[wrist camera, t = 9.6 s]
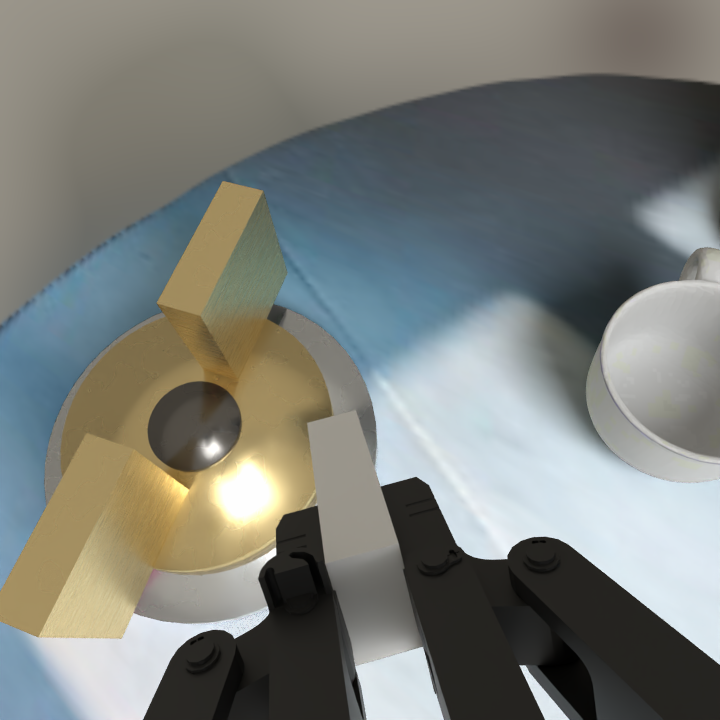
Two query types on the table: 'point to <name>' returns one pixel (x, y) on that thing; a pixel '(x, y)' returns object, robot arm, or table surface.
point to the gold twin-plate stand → (178, 439)
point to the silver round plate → (241, 585)
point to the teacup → (663, 376)
